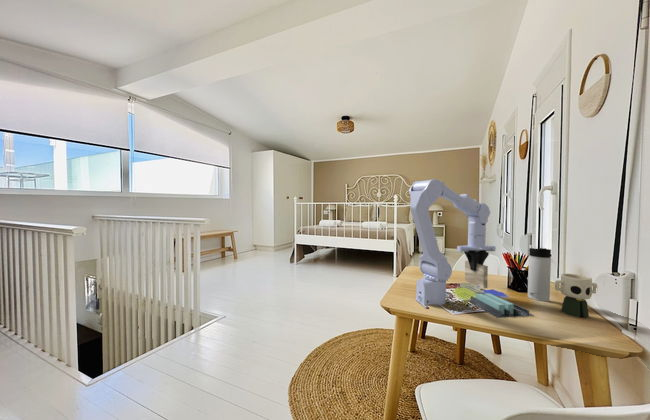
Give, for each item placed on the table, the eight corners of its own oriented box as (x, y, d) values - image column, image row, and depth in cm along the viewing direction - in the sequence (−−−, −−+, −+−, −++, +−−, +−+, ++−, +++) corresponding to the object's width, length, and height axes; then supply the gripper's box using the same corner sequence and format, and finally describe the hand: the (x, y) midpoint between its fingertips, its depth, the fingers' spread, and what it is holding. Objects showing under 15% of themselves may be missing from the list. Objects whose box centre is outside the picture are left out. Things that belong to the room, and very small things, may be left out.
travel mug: (531, 302, 93) (533, 248, 92) (525, 296, 99) (526, 245, 98) (553, 305, 90) (555, 249, 90) (545, 299, 97) (546, 246, 96)
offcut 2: (507, 313, 81) (508, 304, 81) (484, 301, 91) (484, 293, 91) (513, 313, 81) (513, 304, 81) (489, 301, 91) (489, 293, 91)
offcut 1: (498, 314, 80) (498, 305, 80) (475, 302, 90) (476, 293, 90) (504, 314, 81) (504, 304, 80) (481, 301, 90) (481, 293, 90)
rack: (496, 320, 78) (497, 312, 78) (465, 303, 92) (466, 296, 92) (534, 318, 80) (534, 310, 80) (498, 301, 94) (498, 294, 94)
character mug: (561, 319, 80) (562, 277, 79) (547, 310, 86) (549, 271, 86) (604, 323, 77) (606, 280, 76) (587, 314, 84) (588, 274, 83)
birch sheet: (483, 288, 93) (483, 266, 93) (464, 280, 102) (465, 260, 102) (487, 288, 93) (487, 266, 93) (468, 280, 103) (468, 260, 103)
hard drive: (510, 297, 95) (498, 287, 107) (485, 295, 97) (476, 285, 109) (510, 301, 95) (498, 291, 107) (485, 299, 97) (476, 289, 109)
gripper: (466, 236, 92) (465, 273, 93) (502, 235, 94) (501, 272, 95) (454, 233, 99) (453, 268, 100) (487, 233, 101) (486, 267, 102)
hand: (475, 270), depth 98 cm, fingers closed on birch sheet, 2 cm apart
